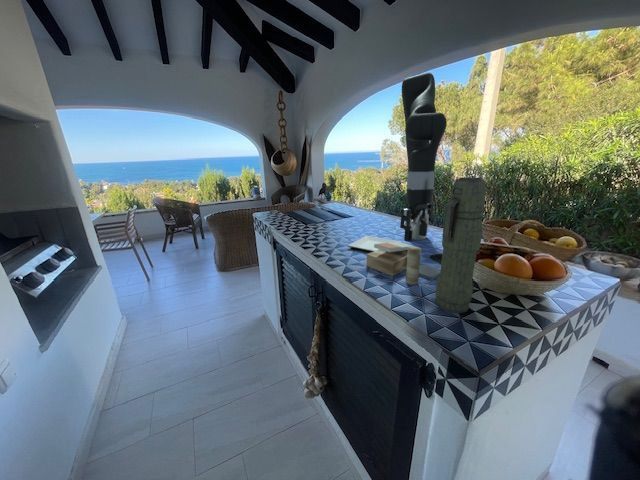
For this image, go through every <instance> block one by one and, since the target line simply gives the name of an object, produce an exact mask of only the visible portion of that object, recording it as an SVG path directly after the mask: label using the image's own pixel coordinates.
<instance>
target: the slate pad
mask: <svg viewBox="0 0 640 480" xmlns="http://www.w3.org/2000/svg"><path fill="white" fill-rule="evenodd" d="M440 270H441V268H436V267H433V266H430V265H426V264H420V268H419V277H421V278H425V279H427V280H431V281H433V280H435V279H438V278H439V276H440Z"/></svg>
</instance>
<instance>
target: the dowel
mask: <svg viewBox="0 0 640 480" xmlns="http://www.w3.org/2000/svg"><path fill="white" fill-rule="evenodd" d="M421 255H422V248H421V247H419V246H416V245H415V246H414V245H412V247H408V256H407V269H405V271H406V272H405V273H406V274H405V283H406V284H408V285H411V286H415V285H418V284H419V277H420V276H419V268H420V265H421Z"/></svg>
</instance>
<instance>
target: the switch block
mask: <svg viewBox="0 0 640 480" xmlns="http://www.w3.org/2000/svg"><path fill="white" fill-rule="evenodd" d="M407 256H408V250H402V251H395V252H387V251H384V250H380V249H379V250H376V251H374V252H369V253H366V267H368V268H371V269H373V270H375V271H378V272H381V273H384V274H386V275H388V276H391V277H393V276H396V275H397V274H399V273H401V272H403V271H406V269H407Z"/></svg>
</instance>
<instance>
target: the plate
mask: <svg viewBox="0 0 640 480" xmlns="http://www.w3.org/2000/svg"><path fill="white" fill-rule="evenodd" d="M393 242H400V243H402V241H401V240H396V239H391V238H385V237H384V238H383V237H377V236H371V235H365V236H363V237H362V238H359V239H357V240H355V241H353V242H351V243H350V244H348V245H347V246H348V247H349V248H352V249H357V250H360V251H365V252H366V251H367V252H369V253H371V252H374V251H376V250H379V249H377V248H374V244H380V243H393Z"/></svg>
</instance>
